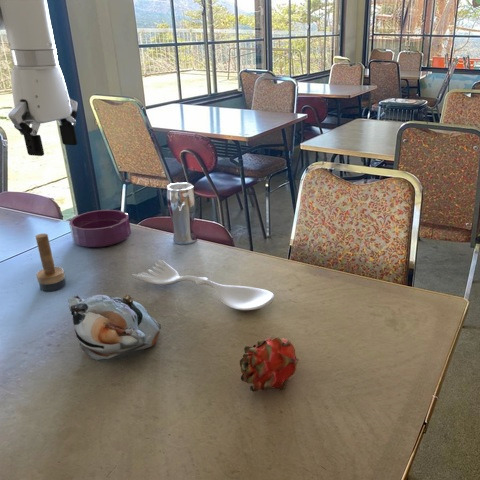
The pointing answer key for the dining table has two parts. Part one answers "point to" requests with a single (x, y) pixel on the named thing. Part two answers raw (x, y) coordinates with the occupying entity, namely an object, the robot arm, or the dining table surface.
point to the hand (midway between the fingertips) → (54, 149)
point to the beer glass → (182, 212)
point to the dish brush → (48, 267)
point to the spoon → (228, 294)
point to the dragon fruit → (268, 363)
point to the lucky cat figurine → (112, 325)
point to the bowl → (100, 228)
